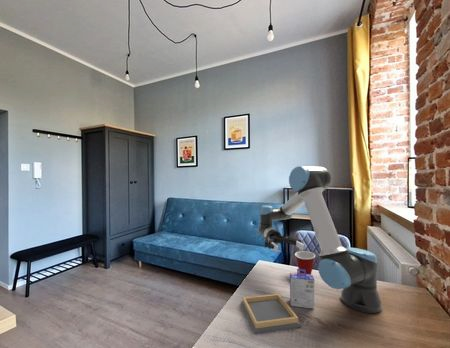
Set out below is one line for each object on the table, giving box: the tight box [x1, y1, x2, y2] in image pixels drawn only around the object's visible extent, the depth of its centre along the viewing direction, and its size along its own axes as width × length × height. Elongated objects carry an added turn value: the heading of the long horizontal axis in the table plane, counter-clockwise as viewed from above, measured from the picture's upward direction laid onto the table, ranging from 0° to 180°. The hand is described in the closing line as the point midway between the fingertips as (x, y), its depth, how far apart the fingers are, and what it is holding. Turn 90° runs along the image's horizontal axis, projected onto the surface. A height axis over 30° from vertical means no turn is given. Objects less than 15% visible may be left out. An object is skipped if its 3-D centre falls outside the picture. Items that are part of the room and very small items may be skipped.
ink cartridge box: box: [289, 268, 315, 309], centre depth 95 cm, size 10×6×14 cm, turn 78°
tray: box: [240, 293, 302, 334], centre depth 88 cm, size 18×18×3 cm
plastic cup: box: [294, 250, 316, 275], centre depth 122 cm, size 11×11×12 cm
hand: (290, 248), depth 105 cm, fingers open, 13 cm apart
